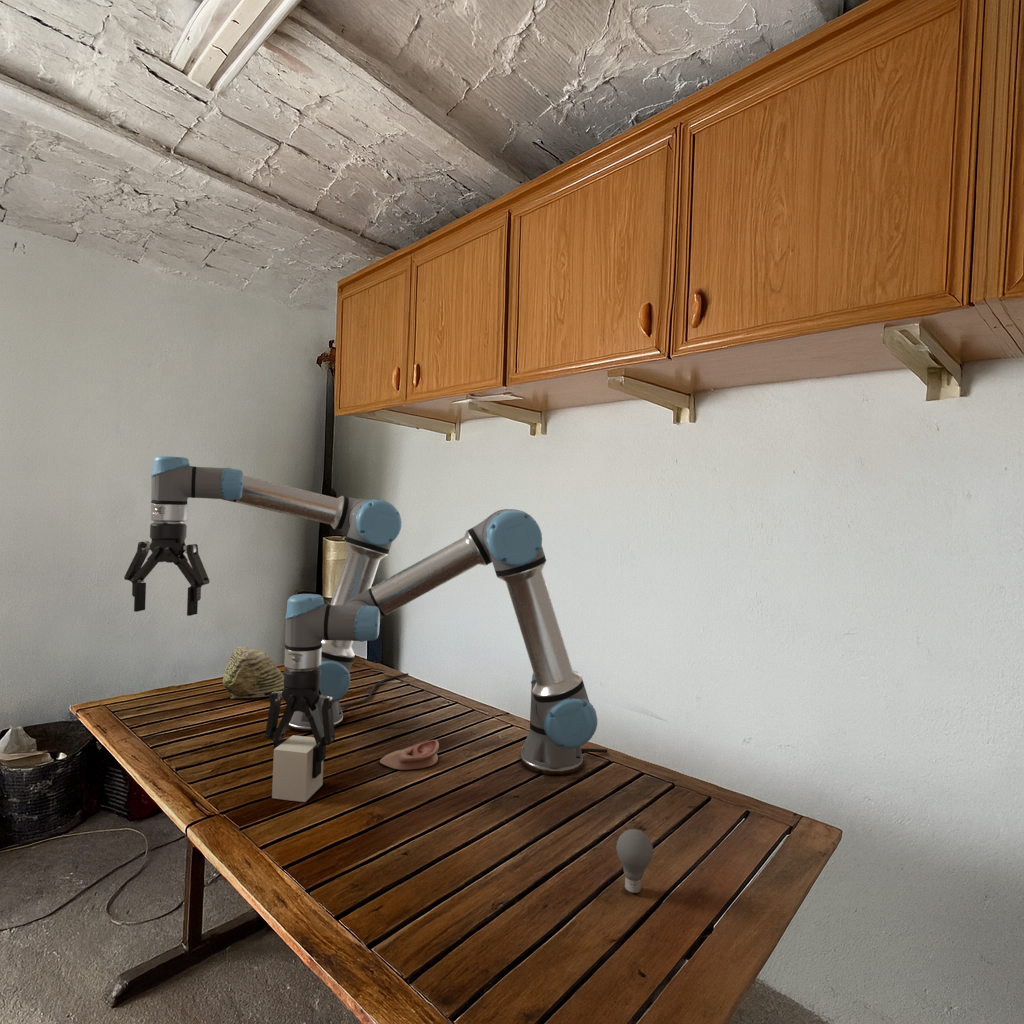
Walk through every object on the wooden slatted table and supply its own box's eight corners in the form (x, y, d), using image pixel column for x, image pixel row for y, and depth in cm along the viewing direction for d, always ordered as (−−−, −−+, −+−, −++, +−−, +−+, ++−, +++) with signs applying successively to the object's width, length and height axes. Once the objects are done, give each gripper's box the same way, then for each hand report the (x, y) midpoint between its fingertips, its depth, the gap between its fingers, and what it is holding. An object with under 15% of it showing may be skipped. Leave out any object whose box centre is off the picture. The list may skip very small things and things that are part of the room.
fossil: (218, 695, 195) (220, 647, 195) (278, 685, 208) (279, 640, 207) (228, 703, 189) (230, 653, 188) (289, 692, 201) (290, 645, 201)
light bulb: (610, 879, 108) (613, 822, 108) (644, 879, 109) (647, 822, 109) (619, 902, 102) (622, 840, 102) (655, 901, 103) (658, 840, 103)
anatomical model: (374, 749, 149) (393, 732, 160) (374, 766, 149) (393, 748, 161) (428, 756, 147) (443, 739, 158) (427, 774, 147) (443, 754, 158)
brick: (291, 781, 140) (292, 735, 140) (322, 784, 139) (324, 738, 139) (271, 798, 132) (273, 749, 132) (305, 802, 131) (307, 752, 131)
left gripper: (108, 520, 146) (105, 611, 147) (207, 525, 143) (204, 619, 143) (132, 519, 154) (129, 606, 154) (227, 524, 150) (224, 613, 151)
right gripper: (248, 667, 133) (244, 775, 133) (340, 676, 130) (336, 786, 130) (267, 659, 140) (263, 761, 141) (354, 666, 137) (350, 771, 138)
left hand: (165, 612), depth 149 cm, fingers open, 13 cm apart
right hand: (298, 773), depth 136 cm, fingers closed on brick, 7 cm apart
